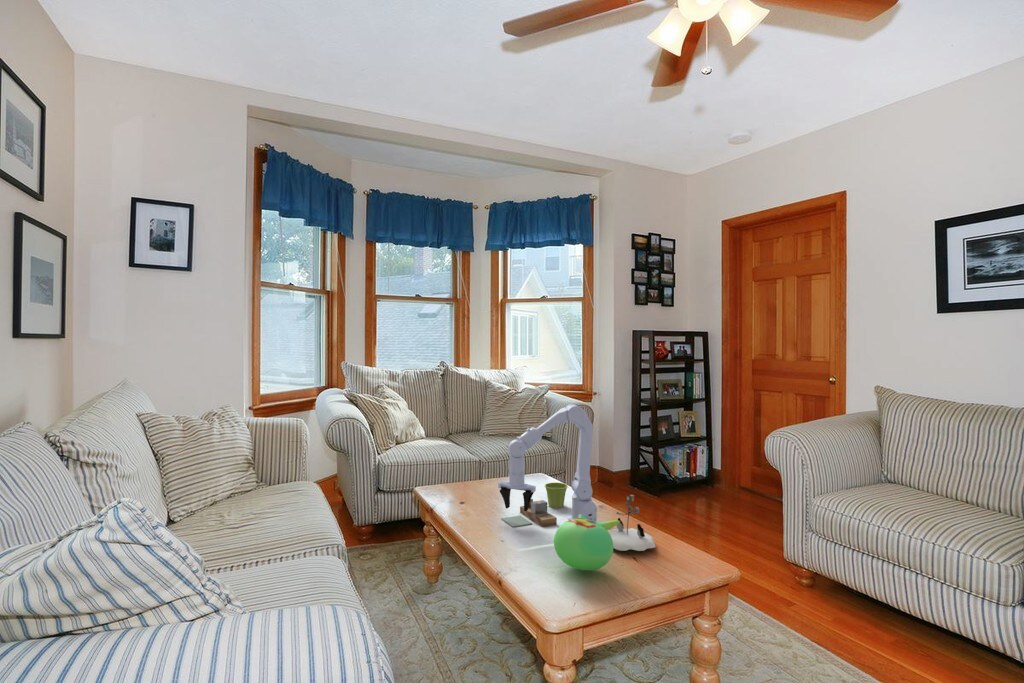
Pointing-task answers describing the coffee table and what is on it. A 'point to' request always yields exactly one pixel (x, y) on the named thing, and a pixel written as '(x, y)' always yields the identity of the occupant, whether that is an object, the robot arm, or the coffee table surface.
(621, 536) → the figurine
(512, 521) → the mat
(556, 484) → the plant pot
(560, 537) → the round green toy
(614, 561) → the coffee table surface
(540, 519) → the plane body
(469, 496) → the coffee table surface
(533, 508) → the grey rectangular block
